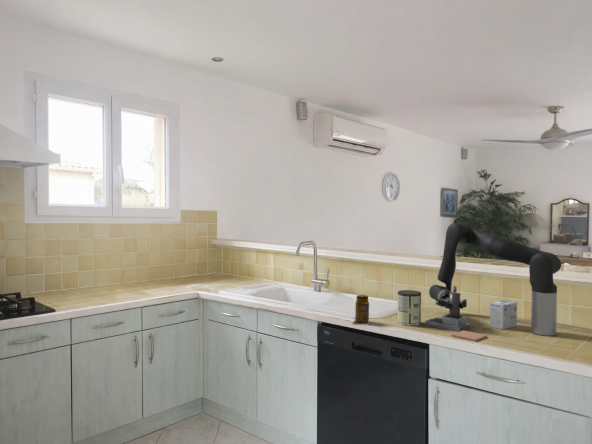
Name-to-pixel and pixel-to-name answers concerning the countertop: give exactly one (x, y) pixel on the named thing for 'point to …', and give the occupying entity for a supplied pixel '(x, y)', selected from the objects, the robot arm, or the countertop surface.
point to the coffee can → (409, 307)
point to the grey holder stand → (449, 323)
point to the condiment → (362, 310)
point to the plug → (454, 303)
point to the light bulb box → (503, 314)
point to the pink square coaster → (469, 335)
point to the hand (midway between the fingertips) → (456, 306)
